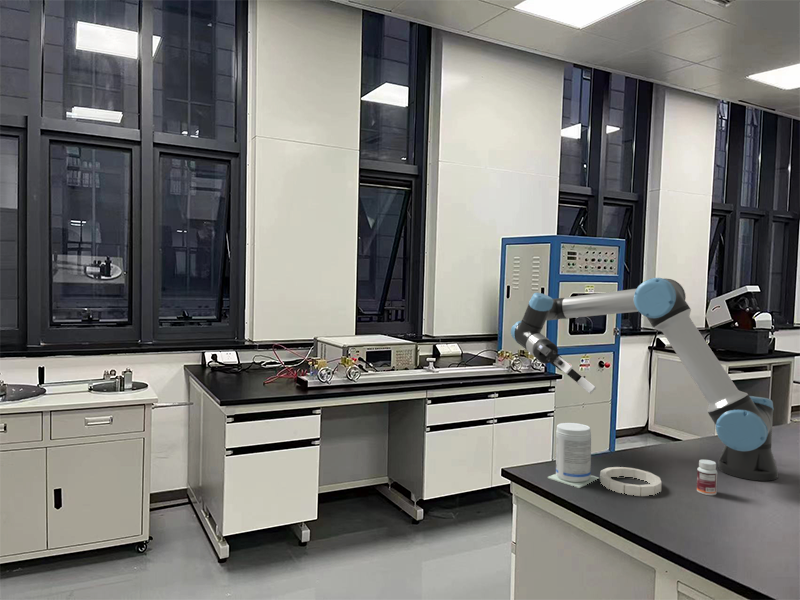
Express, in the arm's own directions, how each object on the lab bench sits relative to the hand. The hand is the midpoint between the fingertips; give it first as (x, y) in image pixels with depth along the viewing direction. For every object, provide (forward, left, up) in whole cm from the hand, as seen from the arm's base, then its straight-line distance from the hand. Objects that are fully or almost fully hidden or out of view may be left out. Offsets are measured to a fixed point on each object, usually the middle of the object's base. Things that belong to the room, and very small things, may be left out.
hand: (581, 380), depth 171 cm
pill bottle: (-33, -8, -27) cm, 44 cm away
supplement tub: (-4, +11, -26) cm, 29 cm away
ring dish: (-17, +3, -26) cm, 32 cm away
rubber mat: (-4, +11, -26) cm, 29 cm away
